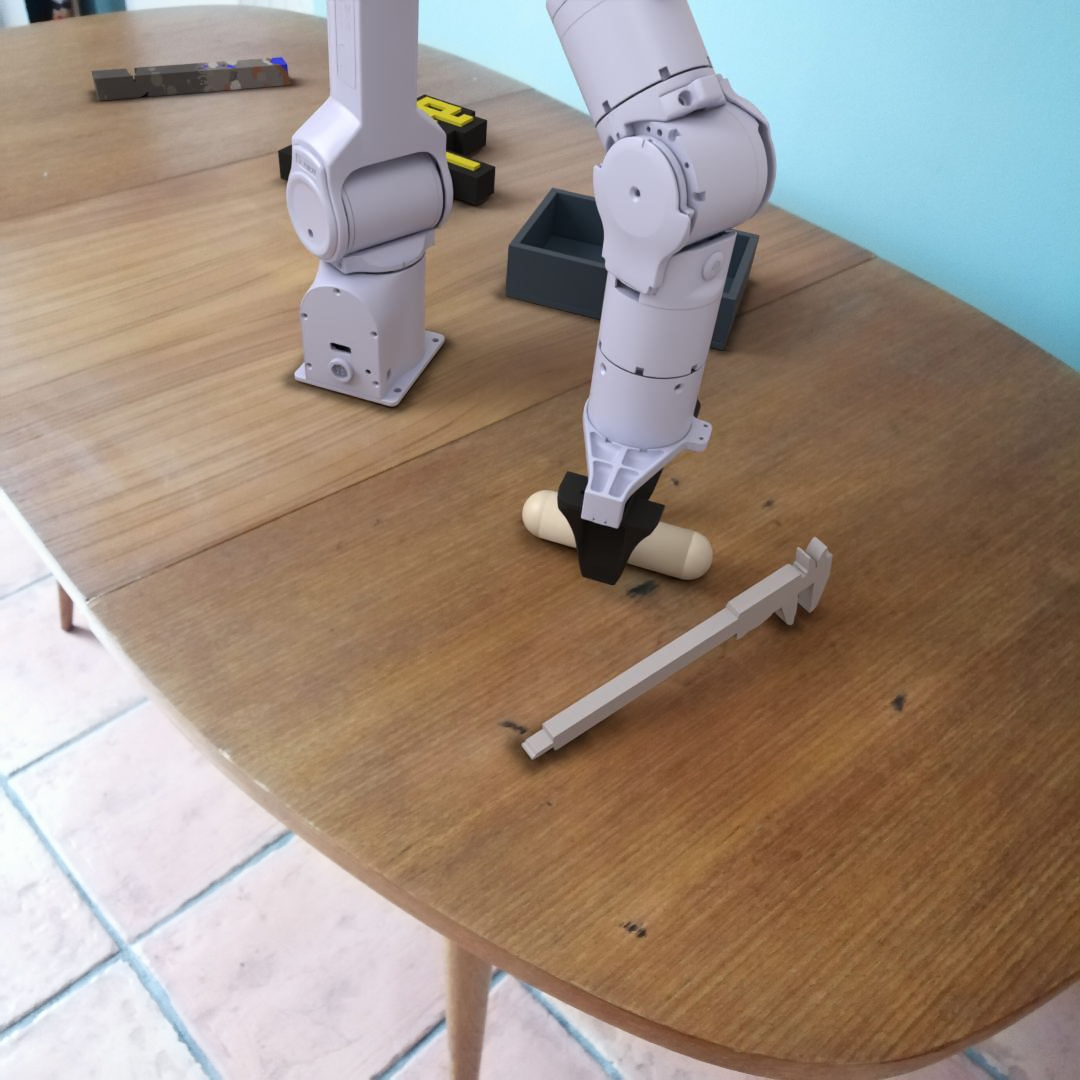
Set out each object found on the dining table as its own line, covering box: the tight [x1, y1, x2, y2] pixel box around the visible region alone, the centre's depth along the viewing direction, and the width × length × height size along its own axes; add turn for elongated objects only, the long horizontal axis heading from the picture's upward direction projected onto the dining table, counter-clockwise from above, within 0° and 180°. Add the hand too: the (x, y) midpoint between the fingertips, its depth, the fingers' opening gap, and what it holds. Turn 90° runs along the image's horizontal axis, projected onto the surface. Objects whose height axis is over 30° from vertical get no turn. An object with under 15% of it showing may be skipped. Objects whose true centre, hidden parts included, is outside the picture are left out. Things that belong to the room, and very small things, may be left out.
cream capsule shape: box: [521, 489, 714, 581], centre depth 61 cm, size 3×12×3 cm, turn 72°
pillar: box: [90, 56, 292, 101], centre depth 107 cm, size 2×2×20 cm
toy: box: [277, 94, 497, 206], centre depth 97 cm, size 18×3×20 cm
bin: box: [504, 187, 760, 351], centre depth 84 cm, size 11×18×5 cm, turn 72°
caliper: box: [521, 536, 833, 760], centre depth 54 cm, size 20×1×6 cm, turn 124°
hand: (616, 535), depth 61 cm, fingers open, 7 cm apart
